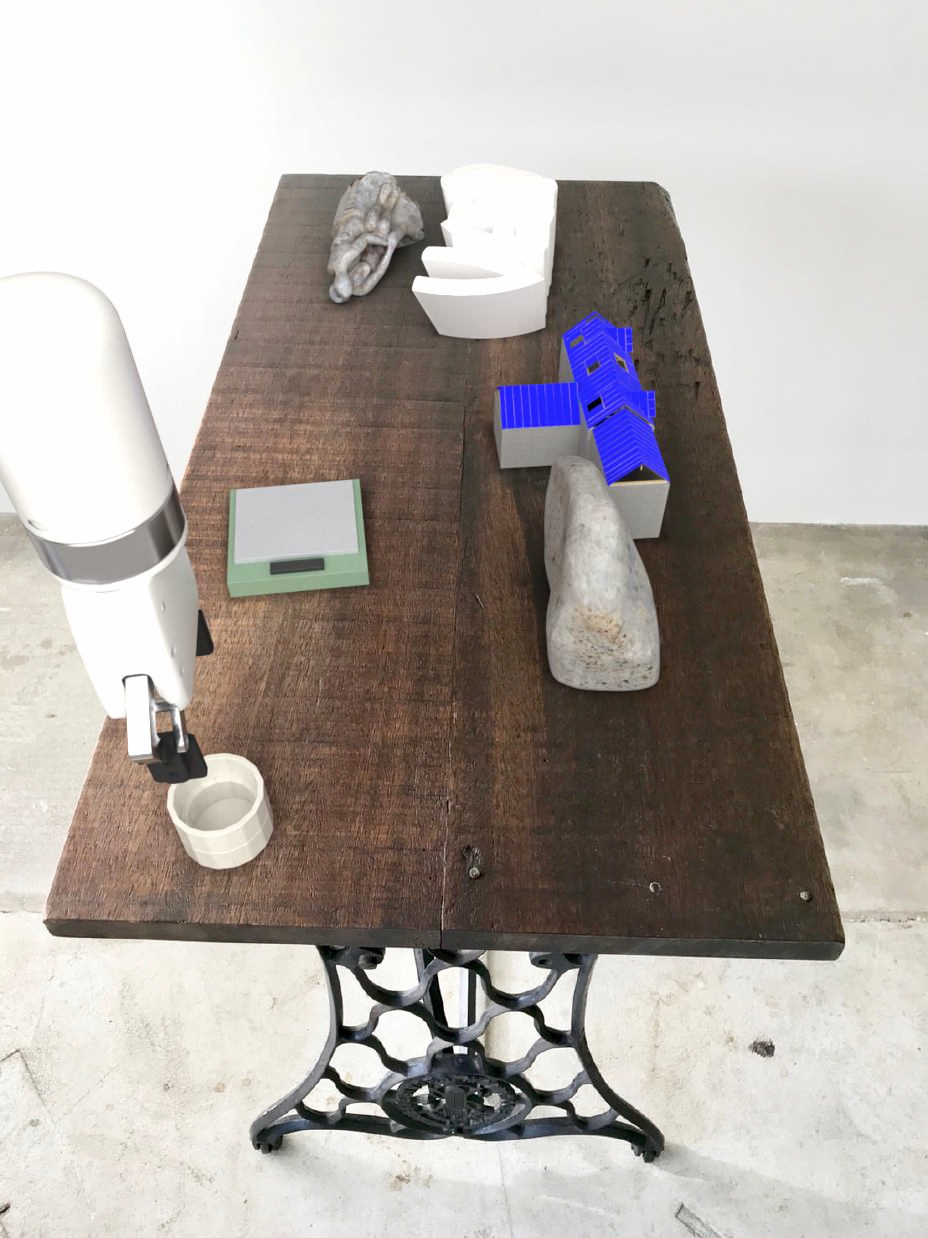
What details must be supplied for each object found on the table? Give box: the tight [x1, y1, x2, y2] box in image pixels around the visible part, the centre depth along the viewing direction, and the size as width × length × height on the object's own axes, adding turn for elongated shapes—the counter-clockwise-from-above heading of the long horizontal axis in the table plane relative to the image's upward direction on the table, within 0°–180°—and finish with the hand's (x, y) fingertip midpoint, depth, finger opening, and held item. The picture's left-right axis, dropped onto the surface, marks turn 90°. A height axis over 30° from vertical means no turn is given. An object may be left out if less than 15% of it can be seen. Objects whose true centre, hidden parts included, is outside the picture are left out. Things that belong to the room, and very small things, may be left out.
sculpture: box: [326, 170, 426, 304], centre depth 125 cm, size 11×18×12 cm
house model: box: [493, 310, 671, 540], centre depth 100 cm, size 25×15×10 cm, turn 5°
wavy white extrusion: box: [411, 163, 559, 340], centre depth 123 cm, size 35×16×10 cm, turn 170°
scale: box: [226, 478, 370, 598], centre depth 94 cm, size 13×13×3 cm
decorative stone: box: [543, 456, 661, 692], centre depth 82 cm, size 17×20×10 cm
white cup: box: [166, 752, 274, 870], centre depth 73 cm, size 7×7×6 cm
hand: (187, 711), depth 63 cm, fingers open, 9 cm apart
